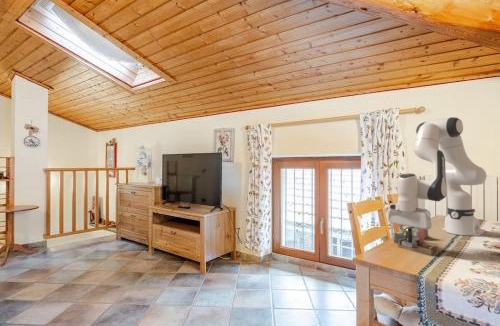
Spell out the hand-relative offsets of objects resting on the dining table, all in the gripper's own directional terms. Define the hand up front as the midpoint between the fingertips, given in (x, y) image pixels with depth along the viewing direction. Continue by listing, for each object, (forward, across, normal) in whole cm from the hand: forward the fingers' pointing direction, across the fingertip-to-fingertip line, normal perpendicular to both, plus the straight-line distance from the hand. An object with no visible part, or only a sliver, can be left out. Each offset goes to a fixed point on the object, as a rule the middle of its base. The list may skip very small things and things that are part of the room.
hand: (408, 234), depth 137 cm
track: (+7, -4, 0) cm, 8 cm away
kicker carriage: (+5, 0, -4) cm, 7 cm away
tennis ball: (+7, +4, -9) cm, 12 cm away
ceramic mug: (+7, +9, -24) cm, 26 cm away
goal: (+7, +6, -9) cm, 13 cm away
